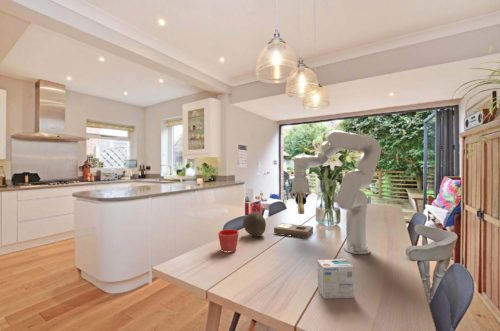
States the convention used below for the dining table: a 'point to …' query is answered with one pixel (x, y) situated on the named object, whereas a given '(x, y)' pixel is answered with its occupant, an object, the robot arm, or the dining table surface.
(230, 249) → the flower pot
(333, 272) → the light bulb box
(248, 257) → the dining table surface
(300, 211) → the brass peg
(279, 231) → the brown flat wooden block
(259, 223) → the cantaloupe
